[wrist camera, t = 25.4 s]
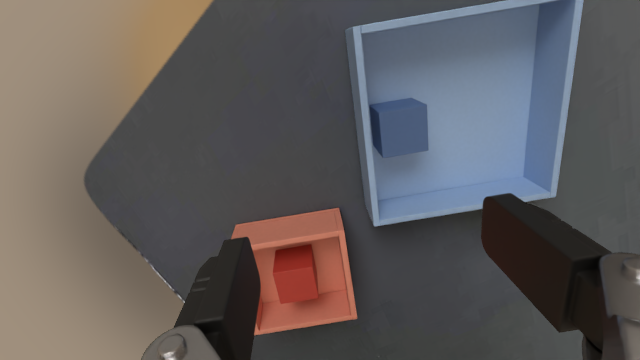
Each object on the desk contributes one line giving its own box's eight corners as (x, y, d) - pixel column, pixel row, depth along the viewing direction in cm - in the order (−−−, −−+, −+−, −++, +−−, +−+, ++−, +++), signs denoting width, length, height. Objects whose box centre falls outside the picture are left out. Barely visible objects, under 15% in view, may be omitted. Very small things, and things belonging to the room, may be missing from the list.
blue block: (373, 145, 31) (382, 158, 28) (369, 104, 30) (378, 112, 26) (413, 138, 31) (428, 150, 28) (411, 97, 30) (427, 104, 26)
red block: (282, 278, 37) (280, 304, 33) (275, 249, 35) (272, 273, 32) (317, 273, 37) (318, 298, 33) (311, 243, 35) (312, 267, 32)
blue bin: (365, 204, 34) (373, 226, 30) (344, 29, 28) (352, 26, 24) (524, 178, 34) (556, 197, 30) (542, -4, 28) (585, -14, 23)
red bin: (259, 304, 39) (254, 335, 35) (235, 224, 35) (226, 249, 30) (351, 289, 39) (357, 318, 35) (338, 207, 34) (344, 229, 30)
